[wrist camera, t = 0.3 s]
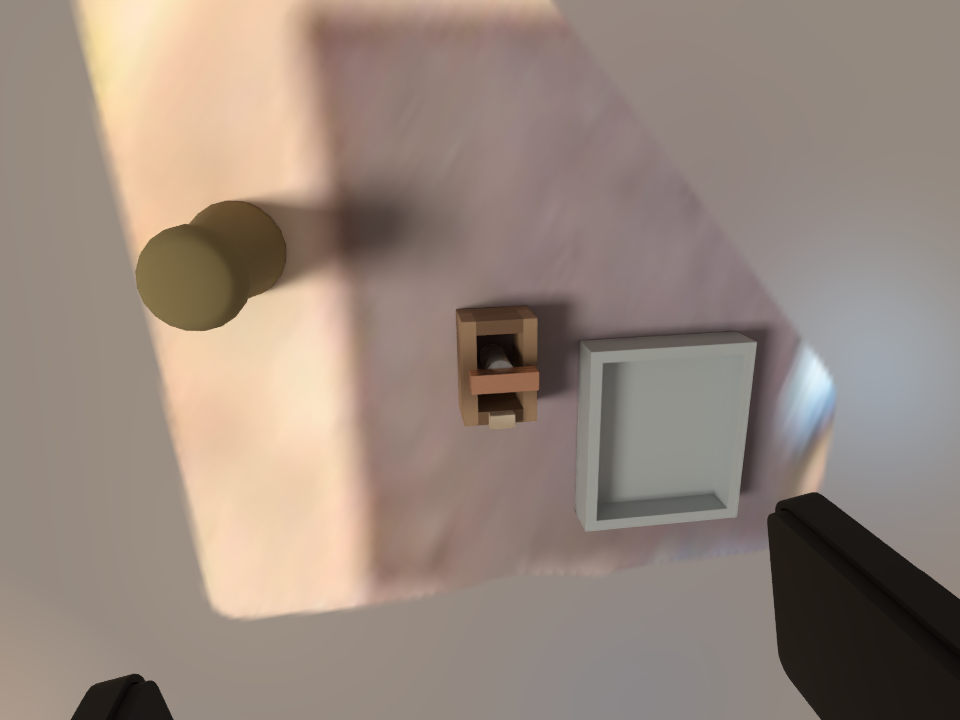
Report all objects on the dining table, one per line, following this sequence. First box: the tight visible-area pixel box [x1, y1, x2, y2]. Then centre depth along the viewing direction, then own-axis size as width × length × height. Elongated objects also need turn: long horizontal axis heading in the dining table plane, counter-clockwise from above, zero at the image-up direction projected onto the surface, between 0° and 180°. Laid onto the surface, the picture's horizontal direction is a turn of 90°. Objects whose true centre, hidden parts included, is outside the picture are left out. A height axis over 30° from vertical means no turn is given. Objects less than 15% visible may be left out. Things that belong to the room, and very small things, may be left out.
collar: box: [456, 306, 537, 429], centre depth 43 cm, size 7×5×4 cm
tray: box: [575, 331, 757, 532], centre depth 47 cm, size 14×12×3 cm
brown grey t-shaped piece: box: [469, 344, 539, 395], centre depth 43 cm, size 2×4×5 cm, turn 91°
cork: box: [135, 201, 286, 331], centre depth 35 cm, size 6×6×11 cm
